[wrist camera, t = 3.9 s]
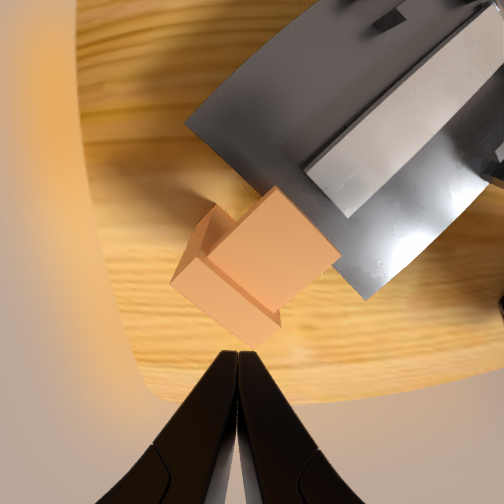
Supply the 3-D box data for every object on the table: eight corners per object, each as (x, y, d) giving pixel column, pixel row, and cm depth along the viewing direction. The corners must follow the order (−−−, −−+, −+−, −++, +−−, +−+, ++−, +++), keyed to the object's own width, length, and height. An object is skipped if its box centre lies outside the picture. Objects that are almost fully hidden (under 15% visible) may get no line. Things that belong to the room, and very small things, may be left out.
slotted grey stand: (518, 95, 14) (584, 103, 8) (346, 266, 19) (381, 329, 13) (412, -49, 11) (462, -89, 5) (199, 121, 16) (168, 125, 10)
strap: (486, -1, 9) (497, -4, 8) (515, 42, 10) (527, 41, 9) (299, 167, 13) (304, 170, 12) (343, 214, 13) (350, 221, 12)
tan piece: (317, 213, 18) (352, 269, 12) (252, 272, 19) (252, 349, 13) (262, 157, 17) (269, 184, 10) (197, 223, 18) (169, 284, 12)
